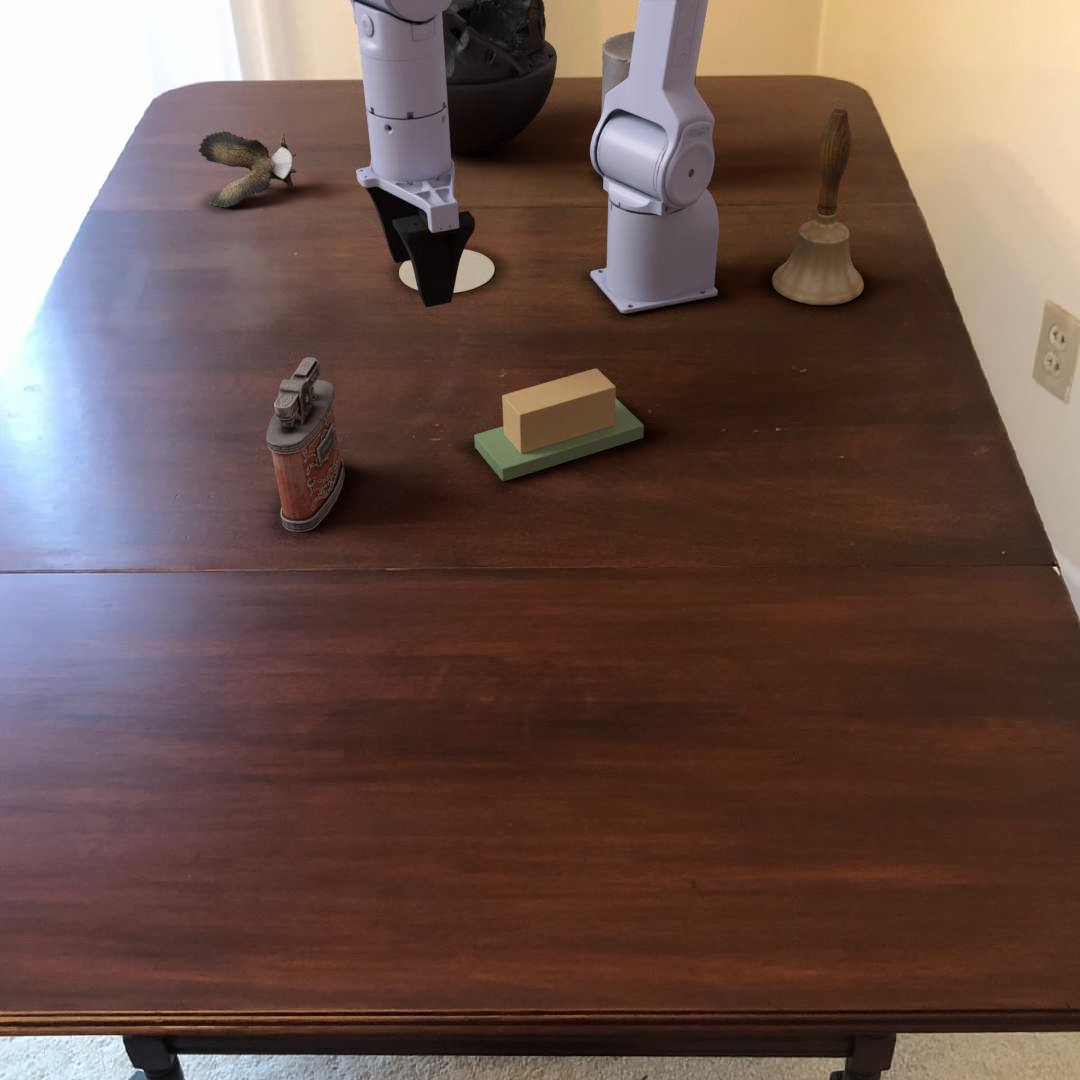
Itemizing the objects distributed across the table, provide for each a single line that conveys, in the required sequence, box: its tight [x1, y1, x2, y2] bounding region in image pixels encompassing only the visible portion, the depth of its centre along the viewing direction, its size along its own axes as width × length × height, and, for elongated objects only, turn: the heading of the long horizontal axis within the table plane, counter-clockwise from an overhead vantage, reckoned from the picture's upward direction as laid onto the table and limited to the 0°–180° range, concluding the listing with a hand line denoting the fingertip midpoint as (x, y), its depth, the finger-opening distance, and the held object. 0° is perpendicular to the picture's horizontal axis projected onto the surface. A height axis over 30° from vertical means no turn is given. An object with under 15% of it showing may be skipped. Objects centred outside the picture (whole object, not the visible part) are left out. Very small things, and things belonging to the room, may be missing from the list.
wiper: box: [473, 368, 645, 482], centre depth 92 cm, size 5×12×5 cm, turn 117°
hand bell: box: [771, 108, 865, 306], centre depth 107 cm, size 8×8×16 cm
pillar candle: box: [601, 31, 697, 179], centre depth 126 cm, size 10×10×15 cm
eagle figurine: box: [198, 130, 297, 208], centre depth 127 cm, size 8×7×9 cm
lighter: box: [265, 356, 346, 533], centre depth 85 cm, size 8×3×10 cm, turn 168°
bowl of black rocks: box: [442, 0, 558, 153], centre depth 132 cm, size 20×20×19 cm
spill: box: [398, 248, 496, 294], centre depth 115 cm, size 9×9×1 cm
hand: (421, 280), depth 94 cm, fingers open, 7 cm apart
